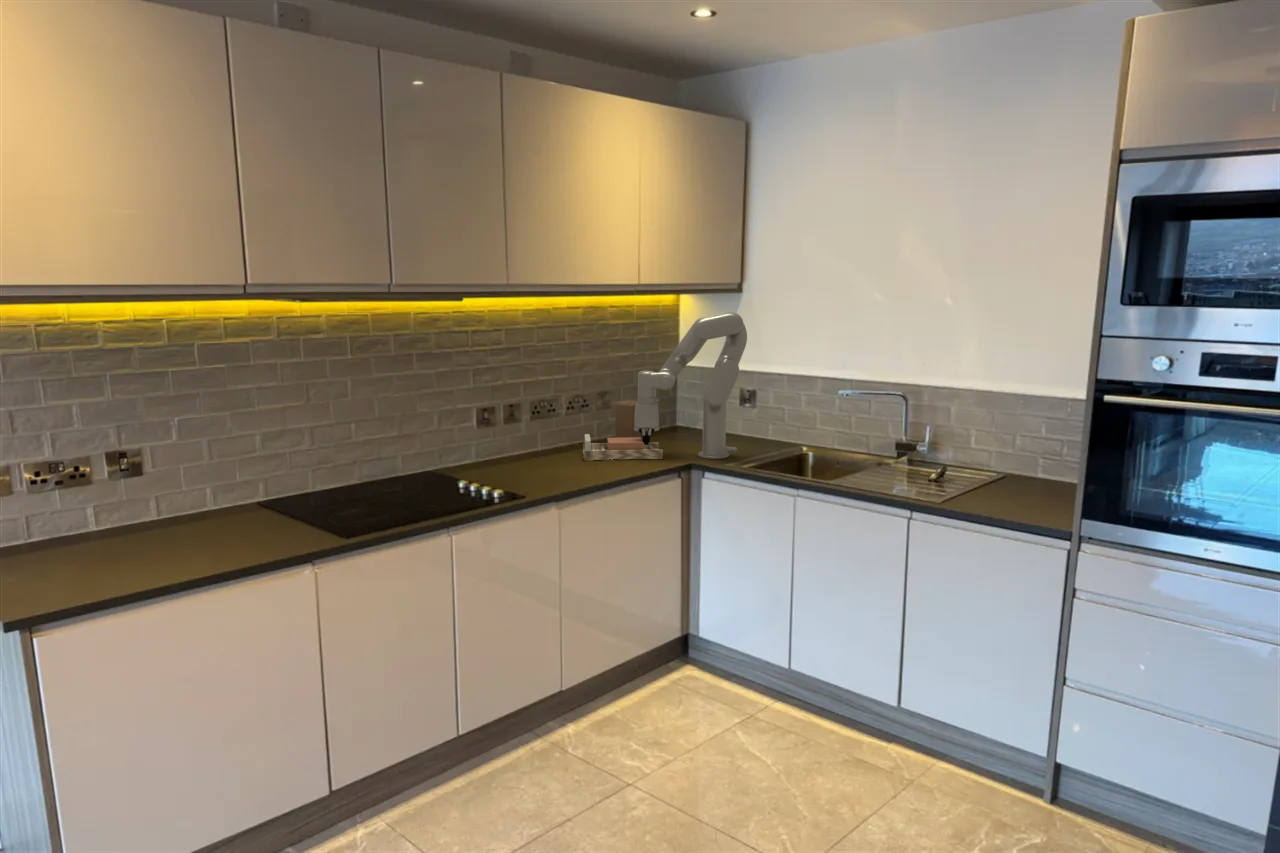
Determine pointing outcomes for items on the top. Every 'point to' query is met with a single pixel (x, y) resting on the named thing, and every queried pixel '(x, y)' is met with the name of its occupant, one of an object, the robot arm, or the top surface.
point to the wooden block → (626, 419)
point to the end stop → (587, 443)
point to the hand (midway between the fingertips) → (646, 444)
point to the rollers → (604, 447)
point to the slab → (625, 443)
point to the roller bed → (622, 453)
